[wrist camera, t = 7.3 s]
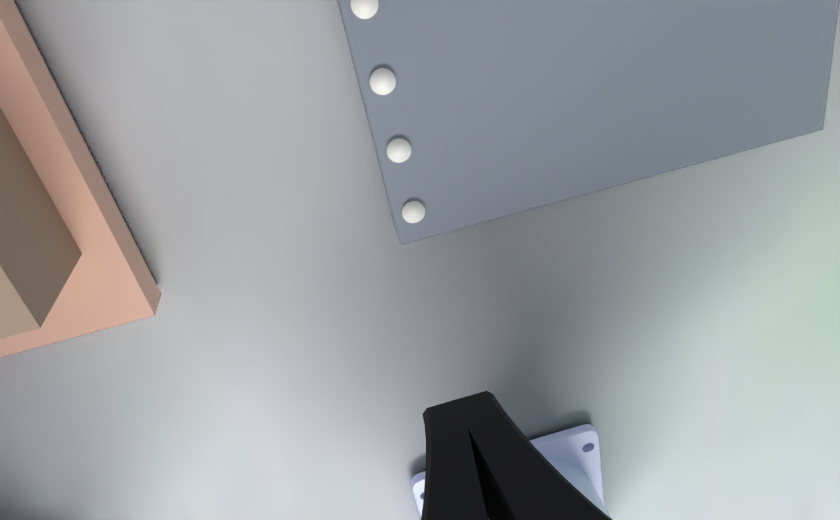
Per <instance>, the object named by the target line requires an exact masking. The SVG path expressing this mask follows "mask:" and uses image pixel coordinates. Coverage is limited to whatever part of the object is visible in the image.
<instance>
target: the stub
mask: <svg viewBox="0 0 840 520" xmlns="http://www.w3.org/2000/svg"><path fill="white" fill-rule="evenodd" d="M160 297H161V293H160V291H159V289H158V287H157V285H156V283H155V281H154V279H153V277H152V275H151V273H150V271H149V269H148V267H147V265H146V263H145V261H144V259H143V257H142V255H141V253H140V251H139V249H138V247H137V245H136V243H135V241H134V239H133V237H132V235H131V233H130V231H129V229H128V227H127V225H126V223H125V221H124V219H123V217H122V215H121V213H120V211H119V209H118V207H117V205H116V203H115V201H114V199H113V197H112V195H111V193H110V191H109V189H108V187H107V185H106V183H105V181H104V179H103V177H102V175H101V173H100V171H99V169H98V167H97V165H96V163H95V161H94V159H93V157H92V155H91V153H90V151H89V149H88V147H87V145H86V143H85V141H84V139H83V137H82V135H81V133H80V132H79V130H78V128H77V126H76V124H75V122H74V120H73V118H72V116H71V114H70V112H69V110H68V108H67V106H66V104H65V102H64V100H63V98H62V96H61V94H60V92H59V90H58V88H57V86H56V84H55V82H54V80H53V78H52V76H51V74H50V72H49V70H48V68H47V66H46V64H45V62H44V60H43V58H42V56H41V54H40V52H39V50H38V48H37V46H36V44H35V42H34V40H33V38H32V36H31V34H30V32H29V30H28V28H27V26H26V24H25V22H24V20H23V18H22V16H21V14H20V12H19V10H18V8H17V6H16V4H15V2H14V0H0V358H1V357H4V356H8V355H12V354H15V353H19V352H23V351H26V350H30V349H34V348H37V347H41V346H44V345H48V344H52V343H55V342H59V341H63V340H66V339H70V338H74V337H77V336H81V335H85V334H88V333H92V332H96V331H99V330H103V329H107V328H110V327H114V326H118V325H121V324H125V323H129V322H132V321H136V320H140V319H143V318H147V317H151V316H154V315H155V313H156V310H157V306H158V303H159V300H160Z"/></svg>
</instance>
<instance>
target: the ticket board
mask: <svg viewBox="0 0 840 520" xmlns="http://www.w3.org/2000/svg"><path fill="white" fill-rule="evenodd" d="M839 1H840V0H337V2H338V6H339V10H340V14H341V17H342V21H343V25H344V29H345V33H346V37H347V41H348V45H349V49H350V53H351V57H352V60H353V64H354V68H355V72H356V76H357V80H358V84H359V88H360V92H361V96H362V100H363V104H364V107H365V111H366V115H367V119H368V123H369V127H370V131H371V135H372V139H373V143H374V147H375V151H376V154H377V158H378V162H379V166H380V170H381V174H382V178H383V182H384V186H385V190H386V194H387V197H388V201H389V205H390V209H391V213H392V217H393V221H394V225H395V228H396V231H397V234H398V237H399V240H400V243H401V245H402V244H405V243H409V242H413V241H416V240H420V239H424V238H427V237H431V236H435V235H438V234H442V233H446V232H449V231H453V230H457V229H460V228H464V227H468V226H471V225H475V224H479V223H482V222H486V221H490V220H493V219H497V218H501V217H504V216H508V215H512V214H515V213H519V212H523V211H526V210H530V209H534V208H537V207H541V206H545V205H548V204H552V203H556V202H559V201H563V200H567V199H570V198H574V197H578V196H581V195H585V194H588V193H592V192H596V191H599V190H603V189H607V188H610V187H614V186H618V185H621V184H625V183H629V182H632V181H636V180H640V179H643V178H647V177H651V176H654V175H658V174H662V173H665V172H669V171H673V170H676V169H680V168H684V167H687V166H691V165H695V164H698V163H702V162H706V161H709V160H713V159H717V158H720V157H724V156H728V155H731V154H735V153H739V152H742V151H746V150H750V149H753V148H757V147H761V146H764V145H768V144H772V143H775V142H779V141H783V140H786V139H790V138H794V137H797V136H801V135H805V134H808V133H812V132H815V131H819V130H823V125H824V118H825V110H826V102H827V94H828V86H829V79H830V71H831V63H832V55H833V48H834V40H835V32H836V24H837V16H838V9H839Z"/></svg>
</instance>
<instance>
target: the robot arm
mask: <svg viewBox="0 0 840 520" xmlns="http://www.w3.org/2000/svg"><path fill="white" fill-rule="evenodd" d="M423 418H424V424H425V433H426V471H424V472H421V473H418V474H416V475H415V476H414V477H413V478H412V479H411V488H412V492H413V495H414V498H415V501H416V504H417V508H418V511H419V514H420V517H421V520H612V519H611V518H610V516H609V514H608V512H607V510H606V508H605V506H604V495H603V483H602V471H601V459H600V447H599V435H598V432H597V431H596V429H595V427H594V426H592V425H590V424H585V425H580V426H577V427H574V428H570V429H567V430H563V431H560V432H557V433H553V434H550V435H546V436H543V437H540V438H536V439H533V440H528V439H527V438H526V437H525V435H524V434H523V433H522V432H521V431H520V430H519V428H518V427H517V426H516V425H515V424H514V422H513V421H512V420H511V419H510V417H509V416H508V415H507V414H506V412H505V411H504V410H503V408H502V407H501V405H500V404H499V403H498V401H497V400H496V398H495V397H494V395H493V394H492V393H490V392H488V391H485V392H481V393H478V394H474V395H471V396H467V397H464V398H460V399H457V400H453V401H450V402H446V403H443V404H439V405H436V406H433V407H429V408H427V409H426V410H425V411H424V413H423ZM587 443H588V444H587ZM585 444H586V445H585Z"/></svg>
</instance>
